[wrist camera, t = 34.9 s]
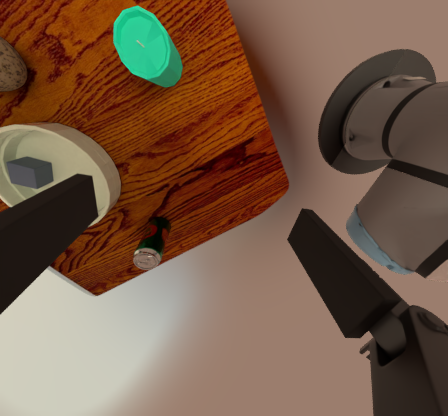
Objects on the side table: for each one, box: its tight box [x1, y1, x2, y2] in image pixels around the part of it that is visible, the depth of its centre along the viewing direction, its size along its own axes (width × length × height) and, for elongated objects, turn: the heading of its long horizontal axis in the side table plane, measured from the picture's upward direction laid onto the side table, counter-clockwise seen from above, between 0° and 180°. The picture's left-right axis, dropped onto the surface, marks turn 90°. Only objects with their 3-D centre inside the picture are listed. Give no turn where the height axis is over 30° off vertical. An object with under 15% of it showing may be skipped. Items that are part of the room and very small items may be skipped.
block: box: [6, 156, 54, 189], centre depth 33 cm, size 4×4×4 cm
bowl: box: [0, 122, 121, 226], centre depth 34 cm, size 19×19×6 cm
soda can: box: [133, 217, 171, 270], centre depth 38 cm, size 5×5×12 cm
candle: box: [114, 6, 183, 88], centre depth 23 cm, size 6×6×12 cm
